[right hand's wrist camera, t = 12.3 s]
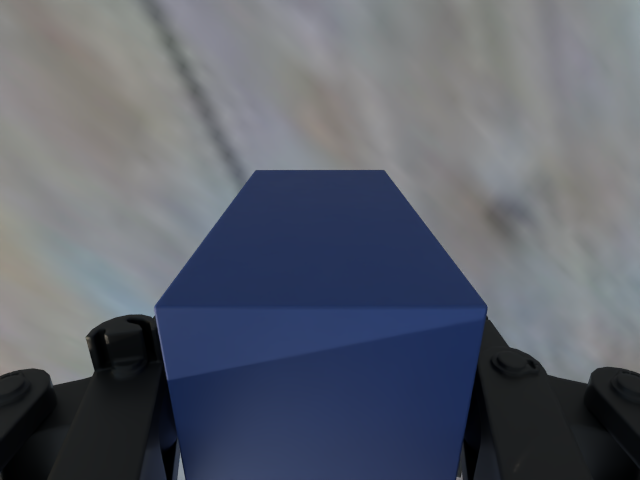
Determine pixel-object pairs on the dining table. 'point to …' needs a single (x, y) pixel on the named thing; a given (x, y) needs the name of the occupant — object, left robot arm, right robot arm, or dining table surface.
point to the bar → (320, 336)
